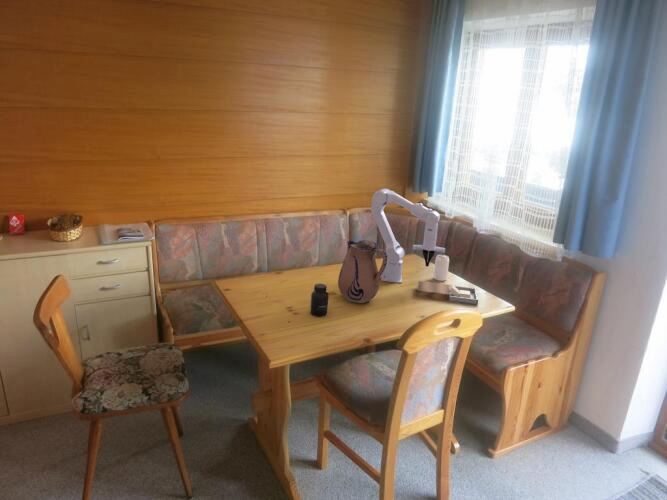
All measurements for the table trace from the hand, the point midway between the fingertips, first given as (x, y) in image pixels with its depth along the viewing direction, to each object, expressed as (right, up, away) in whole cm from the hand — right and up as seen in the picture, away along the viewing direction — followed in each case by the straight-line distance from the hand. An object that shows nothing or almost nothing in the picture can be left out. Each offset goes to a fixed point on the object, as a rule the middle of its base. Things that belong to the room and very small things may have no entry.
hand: (427, 265), depth 225 cm
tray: (+14, -14, -9) cm, 22 cm away
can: (+9, -7, +13) cm, 17 cm away
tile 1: (+10, -11, -8) cm, 17 cm away
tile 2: (+15, -11, -10) cm, 21 cm away
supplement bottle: (-49, -18, -33) cm, 62 cm away
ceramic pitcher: (-32, -14, -17) cm, 39 cm away
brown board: (+1, -12, -6) cm, 14 cm away
